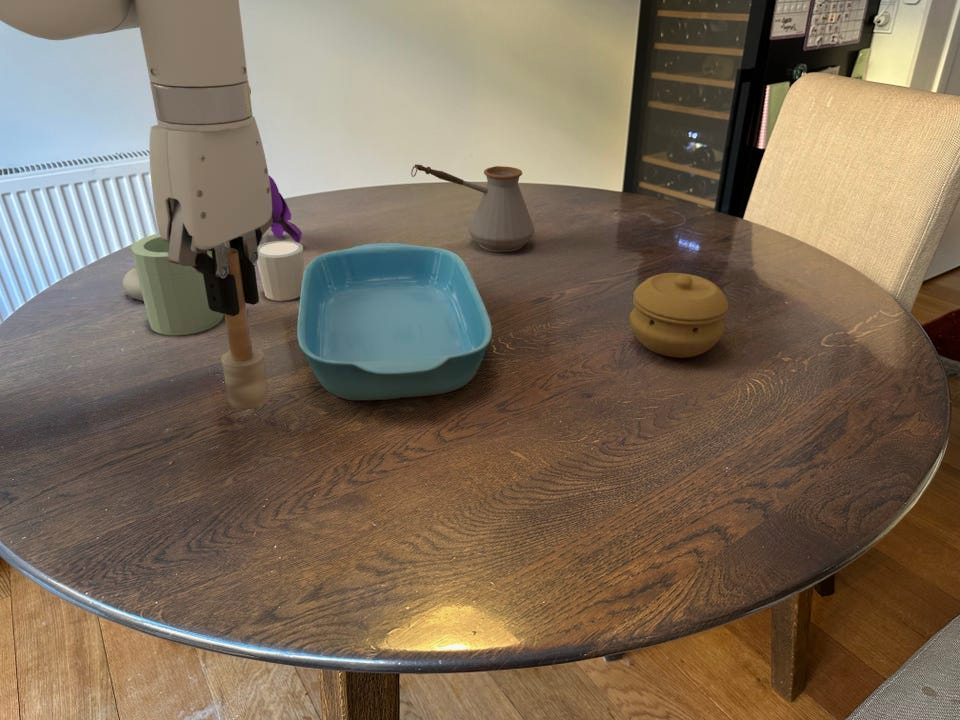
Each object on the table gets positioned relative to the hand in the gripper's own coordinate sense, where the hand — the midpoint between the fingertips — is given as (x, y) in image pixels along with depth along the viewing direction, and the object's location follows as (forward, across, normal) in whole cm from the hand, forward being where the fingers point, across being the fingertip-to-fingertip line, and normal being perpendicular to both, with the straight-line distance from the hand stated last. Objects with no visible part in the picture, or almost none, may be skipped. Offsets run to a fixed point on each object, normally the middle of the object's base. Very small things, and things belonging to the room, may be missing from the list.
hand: (234, 305), depth 67 cm
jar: (+15, -17, -25) cm, 33 cm away
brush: (+11, 0, 0) cm, 11 cm away
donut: (+15, -22, -35) cm, 44 cm away
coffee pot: (+14, -59, -1) cm, 61 cm away
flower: (+15, -42, -34) cm, 56 cm away
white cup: (+15, -30, -19) cm, 38 cm away
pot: (+14, -37, +37) cm, 54 cm away
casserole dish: (+14, -23, +4) cm, 27 cm away
